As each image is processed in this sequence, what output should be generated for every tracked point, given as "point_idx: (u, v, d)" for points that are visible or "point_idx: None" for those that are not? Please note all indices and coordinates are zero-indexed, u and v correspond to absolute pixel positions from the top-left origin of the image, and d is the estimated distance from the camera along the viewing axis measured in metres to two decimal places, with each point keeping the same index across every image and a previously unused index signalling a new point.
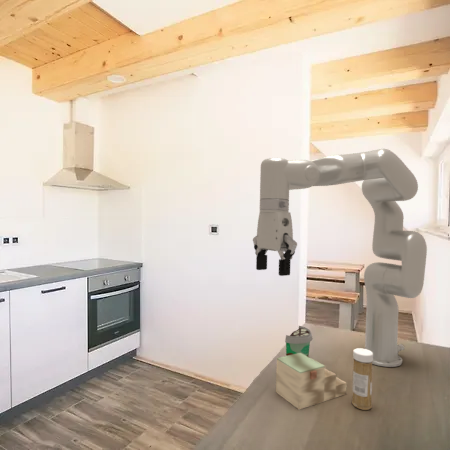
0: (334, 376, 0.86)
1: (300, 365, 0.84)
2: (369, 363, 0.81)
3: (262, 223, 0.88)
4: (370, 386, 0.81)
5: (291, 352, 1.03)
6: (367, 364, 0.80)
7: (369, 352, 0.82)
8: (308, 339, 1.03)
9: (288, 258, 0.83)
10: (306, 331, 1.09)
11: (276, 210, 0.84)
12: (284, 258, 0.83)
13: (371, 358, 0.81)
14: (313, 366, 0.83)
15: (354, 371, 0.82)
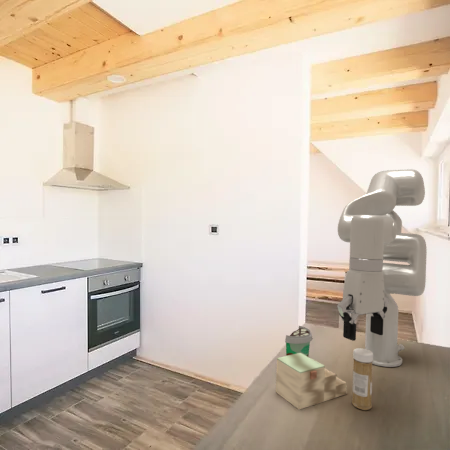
0: (334, 376, 0.86)
1: (300, 365, 0.84)
2: (369, 363, 0.81)
3: (370, 285, 0.79)
4: (370, 386, 0.81)
5: (291, 352, 1.03)
6: (367, 364, 0.80)
7: (369, 352, 0.82)
8: (308, 339, 1.03)
9: None
10: (306, 331, 1.09)
11: None
12: None
13: (371, 358, 0.81)
14: (313, 366, 0.83)
15: (354, 371, 0.82)
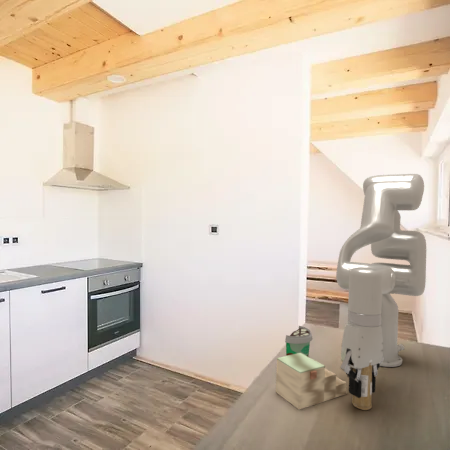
0: (334, 376, 0.86)
1: (300, 365, 0.84)
2: (369, 363, 0.81)
3: (368, 340, 0.80)
4: (370, 386, 0.81)
5: (291, 352, 1.03)
6: None
7: None
8: (308, 339, 1.03)
9: None
10: (306, 331, 1.09)
11: None
12: None
13: None
14: (313, 366, 0.83)
15: (354, 371, 0.82)
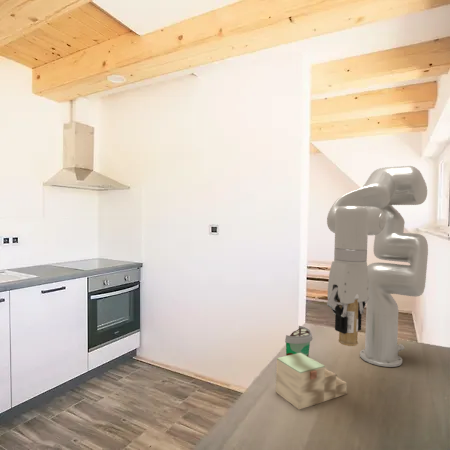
0: (334, 376, 0.86)
1: (300, 365, 0.84)
2: (355, 299, 0.81)
3: (354, 275, 0.80)
4: (356, 322, 0.81)
5: (291, 352, 1.03)
6: None
7: None
8: (308, 339, 1.03)
9: None
10: (306, 331, 1.09)
11: None
12: None
13: (357, 294, 0.81)
14: (313, 366, 0.83)
15: None
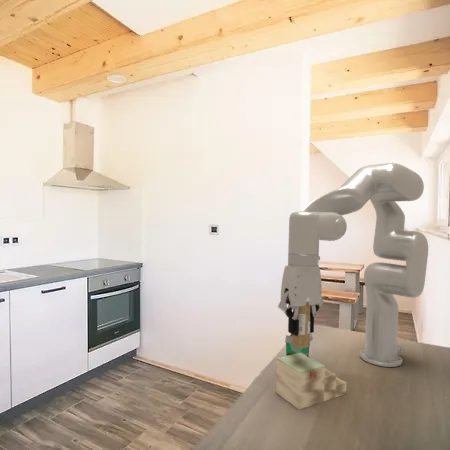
0: (334, 376, 0.86)
1: (300, 365, 0.84)
2: (306, 302, 0.84)
3: (305, 279, 0.83)
4: (308, 325, 0.84)
5: (291, 352, 1.03)
6: None
7: None
8: None
9: None
10: None
11: None
12: None
13: (308, 297, 0.84)
14: (313, 366, 0.83)
15: None
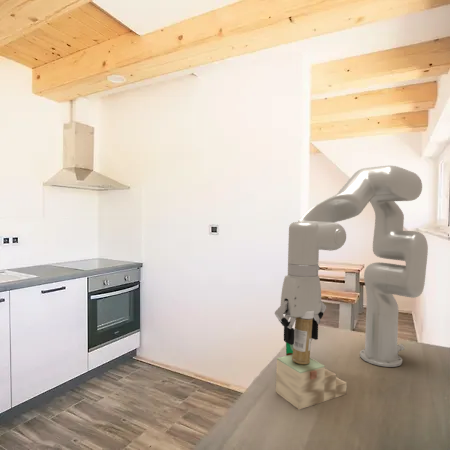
0: (334, 376, 0.86)
1: (300, 365, 0.84)
2: (309, 320, 0.84)
3: (305, 290, 0.83)
4: (309, 342, 0.84)
5: (291, 352, 1.03)
6: (307, 320, 0.84)
7: None
8: None
9: None
10: None
11: None
12: None
13: (311, 314, 0.84)
14: (313, 366, 0.83)
15: (295, 327, 0.86)
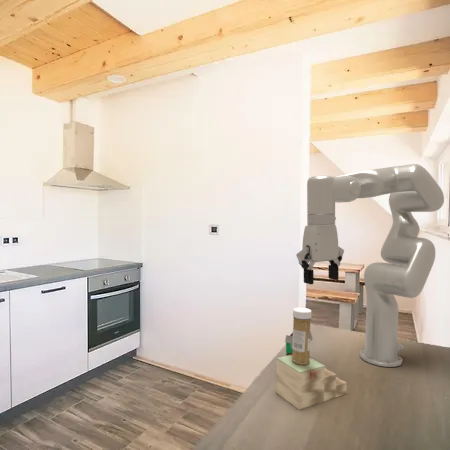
0: (334, 376, 0.86)
1: (300, 365, 0.84)
2: (306, 320, 0.84)
3: (324, 236, 0.92)
4: (307, 342, 0.84)
5: (291, 352, 1.03)
6: (304, 320, 0.84)
7: (307, 310, 0.85)
8: None
9: None
10: None
11: None
12: None
13: (308, 315, 0.84)
14: (313, 366, 0.83)
15: (293, 328, 0.86)
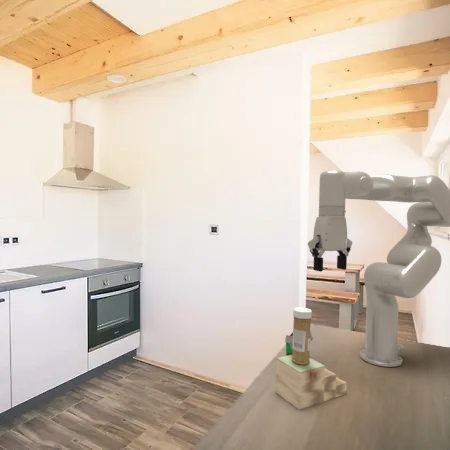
0: (334, 376, 0.86)
1: (300, 365, 0.84)
2: (307, 320, 0.84)
3: (334, 227, 0.98)
4: (308, 342, 0.84)
5: (291, 352, 1.03)
6: (305, 320, 0.84)
7: (308, 310, 0.85)
8: None
9: None
10: None
11: None
12: None
13: (308, 314, 0.84)
14: (313, 366, 0.83)
15: (293, 328, 0.86)
